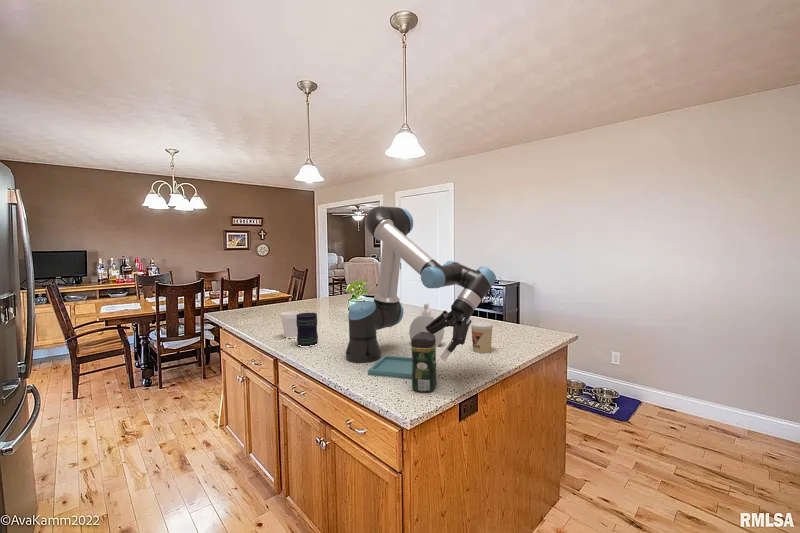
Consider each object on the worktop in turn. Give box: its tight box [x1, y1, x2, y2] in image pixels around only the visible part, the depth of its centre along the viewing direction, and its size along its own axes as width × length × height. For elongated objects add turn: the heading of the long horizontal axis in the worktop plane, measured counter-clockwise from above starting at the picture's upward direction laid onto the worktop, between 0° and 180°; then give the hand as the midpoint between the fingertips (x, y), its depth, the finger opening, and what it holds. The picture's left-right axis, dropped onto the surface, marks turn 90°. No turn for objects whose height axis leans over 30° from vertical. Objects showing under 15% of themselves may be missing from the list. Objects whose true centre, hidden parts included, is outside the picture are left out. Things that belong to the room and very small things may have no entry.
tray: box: [367, 355, 412, 380], centre depth 145 cm, size 18×18×2 cm
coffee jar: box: [410, 332, 437, 393], centre depth 126 cm, size 10×8×19 cm
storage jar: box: [296, 312, 319, 346], centre depth 180 cm, size 10×10×15 cm
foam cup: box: [280, 310, 301, 338], centre depth 194 cm, size 10×9×13 cm
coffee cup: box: [470, 321, 494, 354], centre depth 166 cm, size 9×9×12 cm
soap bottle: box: [408, 302, 445, 348], centre depth 176 cm, size 16×5×20 cm, turn 75°
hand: (430, 353), depth 125 cm, fingers open, 13 cm apart
